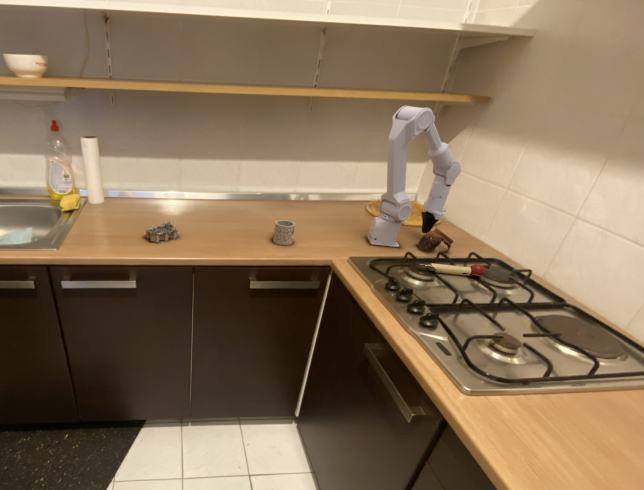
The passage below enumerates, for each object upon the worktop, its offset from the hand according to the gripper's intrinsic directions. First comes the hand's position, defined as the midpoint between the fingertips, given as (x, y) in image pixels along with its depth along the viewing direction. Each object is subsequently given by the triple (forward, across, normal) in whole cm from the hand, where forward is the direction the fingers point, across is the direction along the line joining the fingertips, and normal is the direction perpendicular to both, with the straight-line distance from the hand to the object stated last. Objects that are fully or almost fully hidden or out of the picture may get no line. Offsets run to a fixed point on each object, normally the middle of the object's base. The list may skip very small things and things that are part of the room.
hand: (425, 232), depth 141 cm
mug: (+3, -15, +52) cm, 54 cm away
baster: (+3, -29, +1) cm, 29 cm away
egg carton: (+3, -25, +93) cm, 96 cm away
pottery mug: (+3, -10, 0) cm, 11 cm away
